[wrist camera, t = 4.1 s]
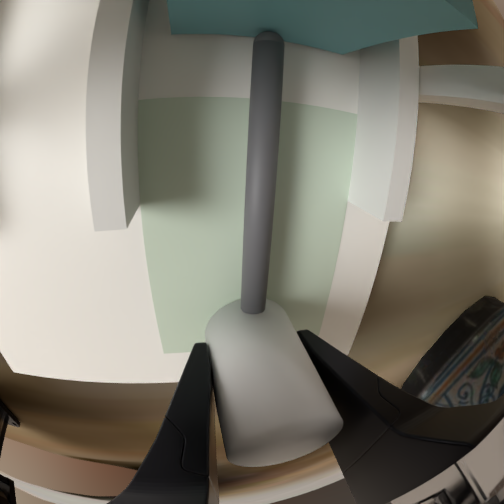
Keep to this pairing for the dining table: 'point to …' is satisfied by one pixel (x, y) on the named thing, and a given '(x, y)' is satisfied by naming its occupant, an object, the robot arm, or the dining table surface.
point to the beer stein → (464, 360)
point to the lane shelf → (189, 182)
